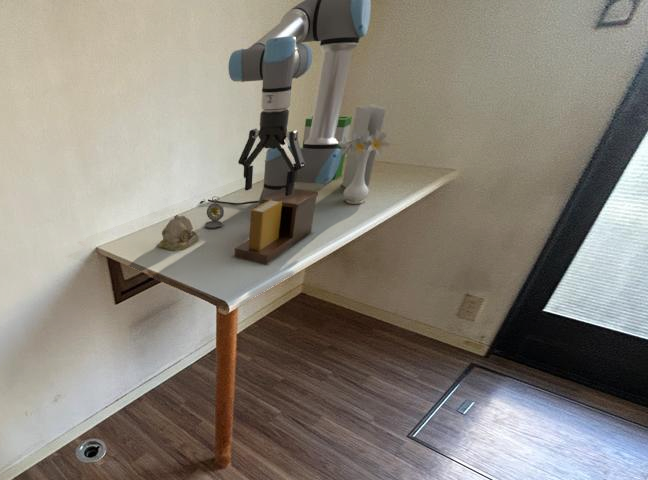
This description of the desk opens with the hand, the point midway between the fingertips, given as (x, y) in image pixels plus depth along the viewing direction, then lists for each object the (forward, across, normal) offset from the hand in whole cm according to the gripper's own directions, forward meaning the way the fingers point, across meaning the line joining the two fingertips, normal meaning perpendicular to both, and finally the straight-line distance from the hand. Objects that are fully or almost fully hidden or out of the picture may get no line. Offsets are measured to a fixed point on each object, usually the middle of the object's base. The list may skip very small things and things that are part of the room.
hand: (267, 192), depth 125 cm
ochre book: (+16, 0, 0) cm, 16 cm away
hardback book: (+18, -23, +91) cm, 96 cm away
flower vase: (+19, +5, +60) cm, 63 cm away
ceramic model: (+19, -30, -8) cm, 36 cm away
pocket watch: (+19, -29, +13) cm, 37 cm away
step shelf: (+19, 0, +8) cm, 21 cm away
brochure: (+19, -1, +77) cm, 80 cm away
